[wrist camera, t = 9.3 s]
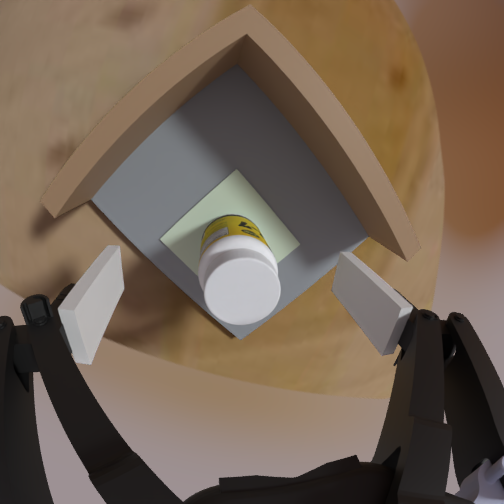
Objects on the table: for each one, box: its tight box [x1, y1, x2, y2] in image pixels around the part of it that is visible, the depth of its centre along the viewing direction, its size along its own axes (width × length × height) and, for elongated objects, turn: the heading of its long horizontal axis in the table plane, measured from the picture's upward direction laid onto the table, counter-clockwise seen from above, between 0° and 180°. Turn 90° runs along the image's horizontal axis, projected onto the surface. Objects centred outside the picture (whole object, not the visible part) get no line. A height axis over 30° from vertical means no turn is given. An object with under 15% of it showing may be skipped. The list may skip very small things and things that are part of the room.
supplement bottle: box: [198, 214, 281, 325], centre depth 18 cm, size 5×5×8 cm
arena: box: [40, 4, 421, 340], centre depth 18 cm, size 20×17×7 cm
